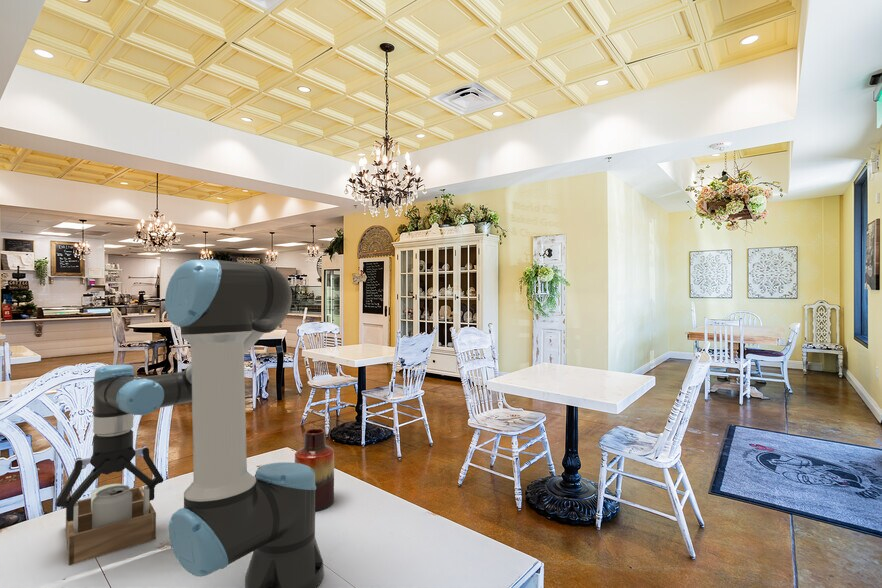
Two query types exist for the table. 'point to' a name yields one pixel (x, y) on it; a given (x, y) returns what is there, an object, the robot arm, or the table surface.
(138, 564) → the table surface
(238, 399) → the robot arm
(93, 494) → the pale curved piece
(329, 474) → the vase
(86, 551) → the rack
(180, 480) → the table surface
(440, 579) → the table surface
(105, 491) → the can
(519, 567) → the table surface
